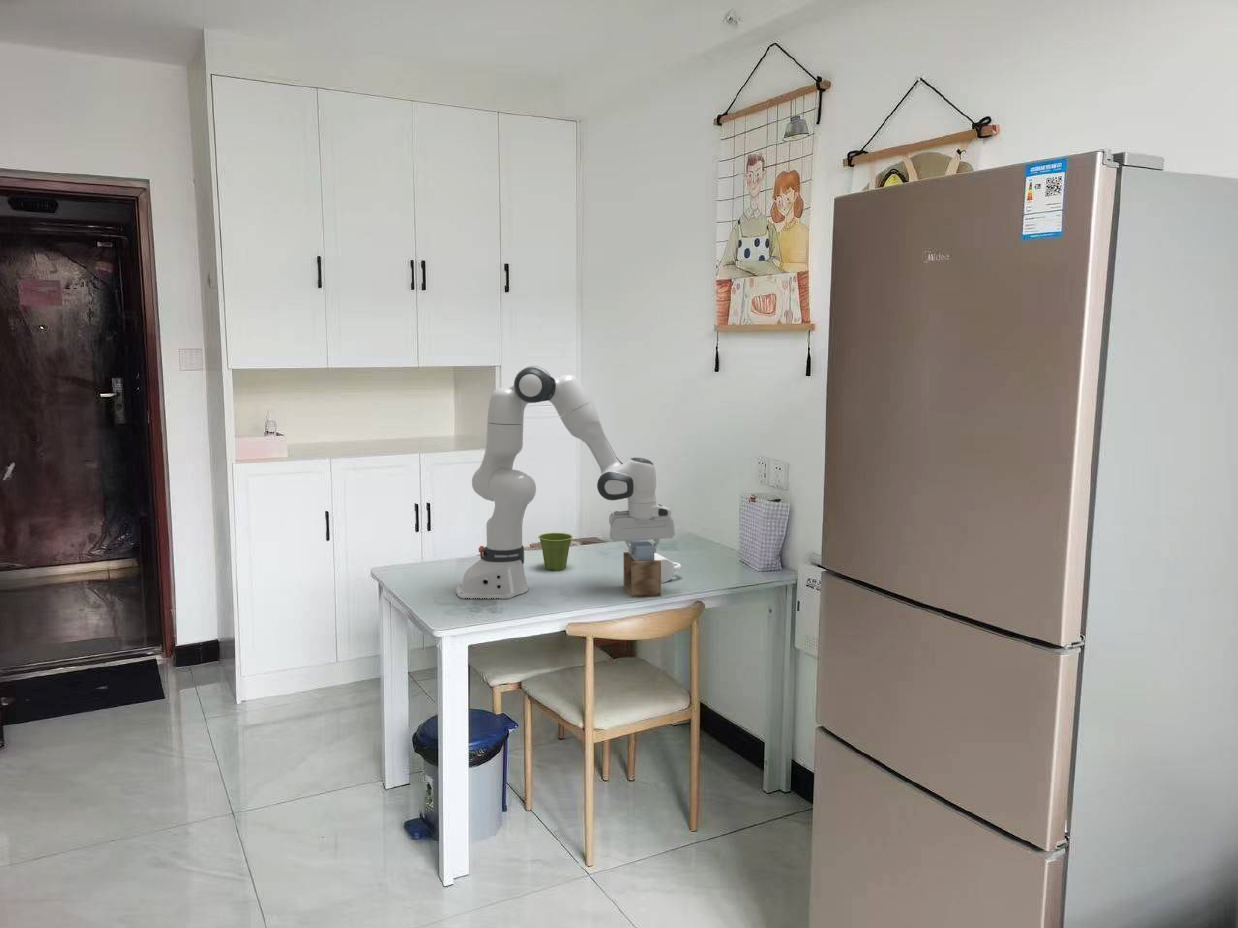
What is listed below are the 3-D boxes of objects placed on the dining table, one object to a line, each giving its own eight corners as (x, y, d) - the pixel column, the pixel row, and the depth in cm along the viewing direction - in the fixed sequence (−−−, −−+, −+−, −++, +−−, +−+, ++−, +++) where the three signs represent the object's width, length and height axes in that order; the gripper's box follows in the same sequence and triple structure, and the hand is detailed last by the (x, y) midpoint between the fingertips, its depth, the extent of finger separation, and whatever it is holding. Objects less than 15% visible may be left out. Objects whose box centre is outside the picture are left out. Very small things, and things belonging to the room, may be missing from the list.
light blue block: (637, 563, 278) (636, 547, 277) (630, 555, 287) (630, 540, 286) (654, 562, 279) (654, 546, 278) (647, 554, 288) (647, 539, 287)
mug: (652, 584, 292) (652, 560, 291) (640, 576, 301) (640, 553, 300) (685, 580, 296) (686, 556, 295) (672, 572, 306) (673, 549, 304)
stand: (632, 597, 277) (632, 562, 275) (623, 585, 290) (623, 552, 288) (660, 595, 279) (661, 561, 277) (650, 584, 292) (651, 550, 290)
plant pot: (557, 574, 304) (557, 541, 302) (531, 569, 311) (531, 537, 309) (580, 567, 313) (579, 535, 311) (554, 562, 320) (553, 530, 318)
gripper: (611, 513, 275) (611, 557, 278) (676, 510, 279) (676, 553, 282) (607, 509, 282) (607, 552, 284) (670, 506, 286) (671, 549, 288)
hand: (642, 553), depth 283 cm, fingers closed on light blue block, 5 cm apart
